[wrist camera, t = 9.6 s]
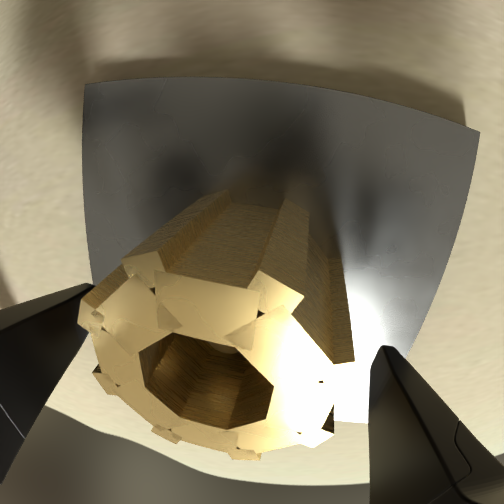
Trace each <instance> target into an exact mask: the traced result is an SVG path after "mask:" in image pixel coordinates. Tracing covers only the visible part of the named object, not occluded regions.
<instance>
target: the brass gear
mask: <svg viewBox="0 0 504 504" xmlns="http://www.w3.org/2000/svg"><path fill="white" fill-rule="evenodd" d="M120 260H121V262H122V264H121V265H120V266H119V267H117V268H116V269H115V270H114V271H113V272H112V273H110V274H109V275H108V276H107V277H106V278H105V279H103V280H102V281H101V282H100V283H99V284H98V285H97V286H95V287H94V288H93V289H92V290H91V291H90V292H89V293H88V294H86V295H85V296H84V297H83V298H82V299H81V303H80V309H79V315H78V322H77V323H78V324H79V325H80V326H82V327H83V328H85V329H86V330H87V331H89V332H90V333H91V337H92V340H93V344H94V348H95V352H96V355H97V359H98V362H99V364H98V365H97V367H96V368H95V369H94V371H93V372H92V373H93V375H94V376H95V378H96V379H97V381H98V382H99V383H100V385H101V386H102V388H103V389H104V390H105V392H106V393H107V394H109V395H117V396H119V397H120V398H121V399H122V400H123V401H124V402H125V403H126V404H128V405H129V406H130V407H131V408H132V409H133V410H135V411H136V412H137V413H138V414H139V415H141V416H142V417H143V418H144V419H145V420H147V421H148V422H149V423H150V424H152V425H153V428H152V430H151V431H152V432H153V433H155V434H157V435H159V436H161V437H163V438H165V439H167V440H169V441H171V442H173V443H175V444H177V443H178V442H179V441H180V440H182V441H185V442H188V443H192V444H195V445H199V446H203V447H206V448H210V449H214V450H218V451H222V452H226V453H228V454H229V455H230V457H231V458H232V459H236V460H260V458H261V453H262V452H267V451H271V450H275V449H280V448H284V447H288V446H291V445H295V444H299V443H301V444H303V445H306V446H309V447H312V448H313V447H315V446H317V445H318V444H320V443H321V442H323V441H325V440H326V439H328V438H329V437H331V436H332V435H334V401H335V399H336V397H337V395H338V393H344V392H351V391H357V390H358V382H357V371H356V361H355V352H354V343H353V334H352V326H351V318H350V311H349V304H348V297H347V290H346V284H345V278H344V272H343V266H342V260H341V257H337V258H332V259H328V258H327V257H326V256H325V254H324V253H323V251H322V250H321V249H320V247H319V246H318V245H317V243H316V242H315V240H314V239H313V238H312V236H311V235H310V234H309V212H308V211H306V210H304V209H303V208H301V207H300V206H298V205H296V204H295V203H293V202H291V201H290V200H288V199H286V198H285V199H284V200H283V202H282V204H281V205H280V207H279V208H278V209H274V208H268V207H262V206H256V205H249V204H243V203H236V202H232V200H231V197H230V194H229V191H228V189H227V190H223V191H219V192H216V193H212V194H208V195H205V196H202V197H201V198H200V199H198V200H197V201H195V202H194V203H193V204H191V205H190V206H189V207H187V208H186V209H185V210H183V211H182V212H181V213H179V214H178V215H177V216H175V217H174V218H173V219H171V220H170V221H169V222H167V223H166V224H165V225H163V226H162V227H161V228H159V229H158V230H157V231H156V232H154V233H153V234H152V235H150V236H149V237H148V238H147V239H145V240H144V241H143V242H142V243H140V244H139V245H138V246H136V247H135V248H134V249H133V250H131V251H130V252H129V253H128V254H127V255H125V256H124V257H123V258H122V259H120ZM208 341H210V342H214V343H218V344H223V345H227V346H232V347H235V348H236V349H237V350H238V351H239V352H237V353H233V354H228V353H223V352H220V351H218V350H216V349H214V348H213V347H212V346H211V345H210V344H209V343H208Z"/></svg>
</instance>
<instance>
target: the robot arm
mask: <svg viewBox="0 0 504 504" xmlns="http://www.w3.org/2000/svg"><path fill="white" fill-rule="evenodd" d="M94 287H95V285H92V284H89V283H84V284H81V285H77V286H74V287H71V288H68V289H65V290H61V291H58V292H55V293H52V294H49V295H45V296H42V297H39V298H36V299H33V300H30V301H26V302H23V303H20V304H17V305H14V306H11V307H8V308H5V309H2V310H0V484H2V483H3V481H4V479H5V477H6V475H7V473H8V471H9V469H10V467H11V465H12V463H13V461H14V459H15V457H16V455H17V453H18V452H19V450H20V448H21V446H22V444H23V442H24V440H25V439H24V438H26V436H27V434H28V433H29V431H30V429H31V427H32V426H33V424H34V422H35V420H36V418H37V417H38V415H39V413H40V412H41V410H42V408H43V406H44V405H45V403H46V402H47V400H48V398H49V397H50V395H51V393H52V392H53V390H54V388H55V387H56V385H57V384H58V382H59V380H60V379H61V377H62V376H63V374H64V373H65V371H66V369H67V368H68V366H69V365H70V363H71V362H72V360H73V359H74V357H75V356H76V354H77V353H78V351H79V349H80V348H81V346H82V344H83V343H84V341H85V339H86V337H87V335H88V333H89V331H87V330H86V329H85V328H83V327H82V326H80V325H79V324H78V323H77V322H78V315H79V309H80V303H81V299H82V298H83V297H84V296H85V295H86V294H88V293H89V292H90V291H91V290H92V289H93V288H94ZM368 431H369V460H370V501H369V504H504V466H503V465H502V464H501V463H500V462H499V461H498V460H497V459H496V458H495V457H494V456H493V455H492V454H491V453H490V452H489V451H488V450H487V449H486V448H485V447H484V446H483V445H482V444H481V443H480V442H479V441H478V440H477V439H476V437H475V436H474V435H473V434H472V433H471V432H470V431H469V430H468V429H467V427H466V426H465V425H464V424H463V423H462V422H461V421H459V418H458V417H457V416H456V415H455V414H454V412H453V411H452V410H451V409H450V408H449V407H448V406H447V404H446V403H445V402H444V401H443V400H442V399H441V398H440V397H439V395H438V394H437V393H436V392H435V391H434V390H433V389H432V388H431V386H430V385H429V384H428V383H427V382H426V381H425V380H424V379H423V378H422V376H421V375H420V374H419V373H418V372H417V371H416V370H415V369H414V368H413V366H412V365H411V364H410V363H409V362H408V361H407V360H406V359H405V358H404V357H403V356H402V355H401V353H400V352H399V351H398V350H397V349H396V348H395V347H393V346H387V345H382V346H380V347H379V349H378V351H377V353H376V356H375V358H374V360H373V362H372V364H371V367H370V376H369V401H368Z"/></svg>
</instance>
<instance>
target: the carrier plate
mask: <svg viewBox="0 0 504 504" xmlns="http://www.w3.org/2000/svg"><path fill="white" fill-rule="evenodd" d="M479 137H480V132H479V131H476V130H474V129H471V128H469V127H466V126H463V125H461V124H458V123H455V122H453V121H450V120H447V119H444V118H441V117H438V116H435V115H432V114H429V113H426V112H423V111H419V110H416V109H413V108H409V107H406V106H402V105H399V104H395V103H391V102H387V101H383V100H379V99H375V98H371V97H367V96H362V95H358V94H353V93H348V92H343V91H338V90H332V89H327V88H321V87H314V86H308V85H301V84H293V83H285V82H277V81H267V80H255V79H242V78H222V77H160V78H141V79H128V80H117V81H107V82H99V83H91V84H85V91H84V105H83V128H82V173H83V196H84V211H85V223H86V234H87V243H88V251H89V259H90V267H91V273H92V280H93V285H95V286H97V285H98V284H99V283H100V282H101V281H102V280H103V279H105V278H106V277H107V276H108V275H109V274H110V273H112V272H113V271H114V270H115V269H116V268H117V267H119V266H120V265H121V264H122V262H121V260H120V259H122V258H123V257H124V256H125V255H127V254H128V253H129V252H130V251H131V250H133V249H134V248H135V247H136V246H138V245H139V244H140V243H142V242H143V241H144V240H145V239H147V238H148V237H149V236H150V235H152V234H153V233H154V232H156V231H157V230H158V229H159V228H161V227H162V226H163V225H165V224H166V223H167V222H169V221H170V220H171V219H173V218H174V217H175V216H177V215H178V214H179V213H181V212H182V211H183V210H185V209H186V208H187V207H189V206H190V205H191V204H193V203H194V202H195V201H197V200H198V199H200V198H201V197H202V196H205V195H208V194H212V193H216V192H219V191H223V190H227V189H228V191H229V194H230V197H231V200H232V202H236V203H243V204H249V205H256V206H262V207H268V208H274V209H278V208H279V207H280V205H281V204H282V202H283V200H284V199H285V198H286V199H288V200H290V201H291V202H293V203H295V204H296V205H298V206H300V207H301V208H303V209H304V210H306V211H308V212H309V234H310V235H311V236H312V238H313V239H314V240H315V242H316V243H317V245H318V246H319V247H320V249H321V250H322V251H323V253H324V254H325V256H326V257H327V258H328V259H332V258H337V257H341V260H342V266H343V272H344V278H345V284H346V290H347V297H348V304H349V311H350V318H351V326H352V334H353V343H354V352H355V361H356V371H357V382H358V390H357V391H351V392H344V393H338V395H337V397H336V399H335V401H334V420H338V421H349V422H362V423H368V401H369V376H370V367H371V364H372V362H373V360H374V358H375V356H376V353H377V351H378V349H379V347H380V346H382V345H387V346H393V347H395V348H396V349H397V350H398V351H399V352H400V353H401V355H402V356H403V357H404V358H405V359H406V357H407V355H408V353H409V351H410V349H411V347H412V345H413V343H414V341H415V339H416V337H417V335H418V333H419V331H420V328H421V326H422V324H423V322H424V320H425V317H426V315H427V313H428V311H429V308H430V306H431V304H432V301H433V299H434V296H435V294H436V292H437V289H438V287H439V284H440V281H441V279H442V276H443V273H444V271H445V268H446V265H447V263H448V260H449V257H450V254H451V251H452V248H453V245H454V242H455V239H456V236H457V232H458V229H459V226H460V222H461V219H462V215H463V212H464V208H465V204H466V200H467V196H468V192H469V188H470V184H471V179H472V175H473V170H474V165H475V160H476V155H477V149H478V143H479ZM208 343H209V344H210V345H211V346H212V347H213V348H214V349H216V350H218V351H220V352H223V353H228V354H233V353H237V352H239V351H238V350H237V349H236V348H235V347H232V346H227V345H223V344H218V343H214V342H210V341H208Z"/></svg>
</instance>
